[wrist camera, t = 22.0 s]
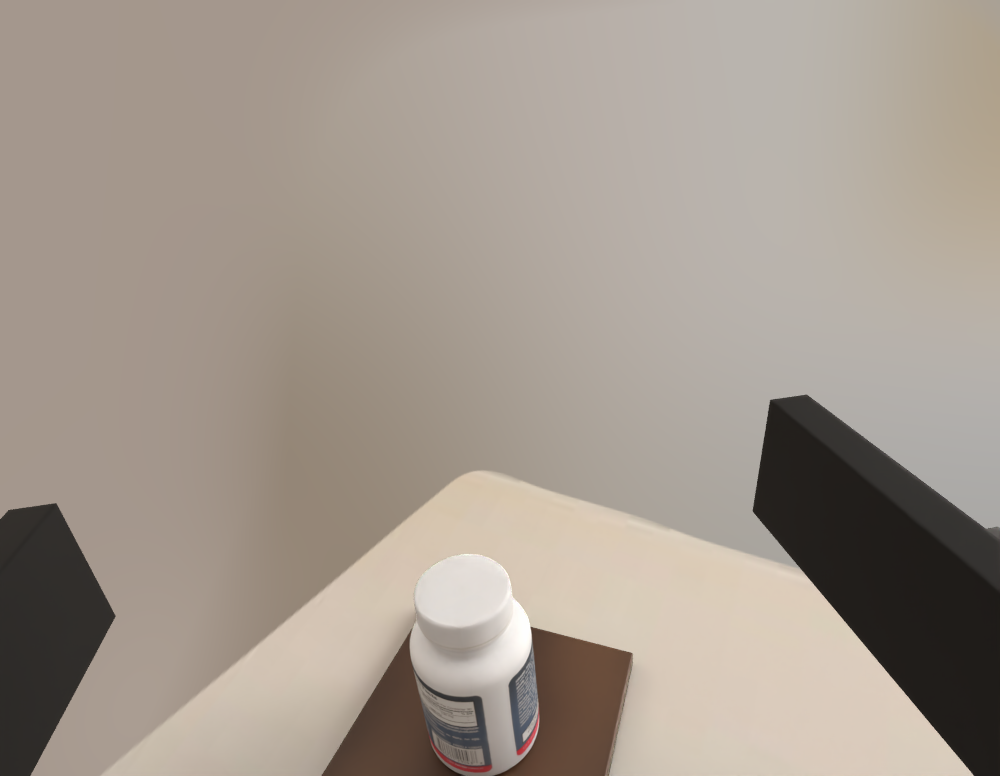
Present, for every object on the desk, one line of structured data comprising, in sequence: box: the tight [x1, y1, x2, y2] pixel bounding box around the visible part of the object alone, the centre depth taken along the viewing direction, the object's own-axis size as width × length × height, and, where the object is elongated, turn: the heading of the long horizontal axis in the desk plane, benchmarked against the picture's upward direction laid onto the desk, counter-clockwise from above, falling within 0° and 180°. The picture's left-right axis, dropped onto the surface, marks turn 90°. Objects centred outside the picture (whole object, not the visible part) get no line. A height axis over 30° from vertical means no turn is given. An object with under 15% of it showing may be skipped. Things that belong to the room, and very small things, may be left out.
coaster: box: [322, 627, 633, 776], centre depth 28 cm, size 12×12×1 cm
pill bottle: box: [410, 554, 539, 776], centre depth 26 cm, size 5×5×9 cm
